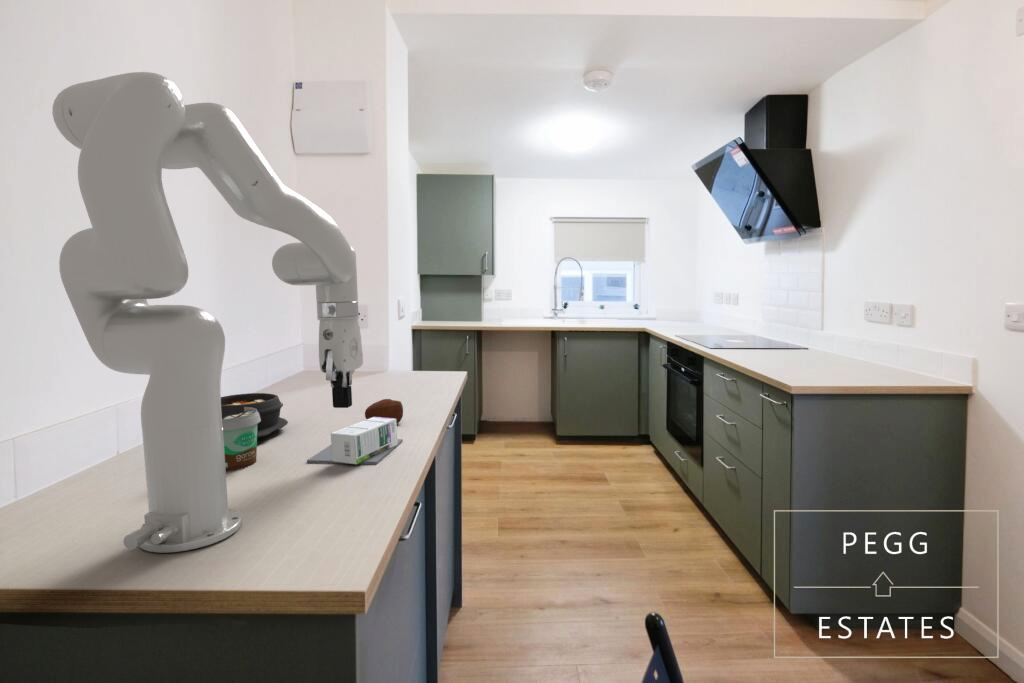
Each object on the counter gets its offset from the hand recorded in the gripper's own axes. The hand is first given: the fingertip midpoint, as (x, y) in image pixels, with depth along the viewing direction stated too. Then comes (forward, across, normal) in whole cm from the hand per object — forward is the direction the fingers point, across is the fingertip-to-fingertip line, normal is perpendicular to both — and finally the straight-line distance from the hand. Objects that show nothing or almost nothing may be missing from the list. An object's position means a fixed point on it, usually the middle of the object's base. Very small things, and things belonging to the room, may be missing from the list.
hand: (342, 406), depth 112 cm
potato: (+11, +28, +2) cm, 31 cm away
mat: (+11, +6, 0) cm, 13 cm away
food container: (+11, -4, +19) cm, 22 cm away
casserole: (+11, +18, +32) cm, 39 cm away
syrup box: (+7, -3, -1) cm, 8 cm away
